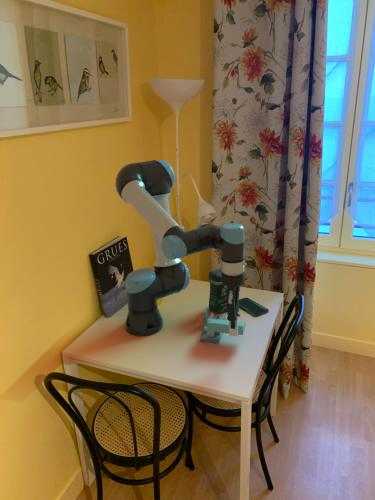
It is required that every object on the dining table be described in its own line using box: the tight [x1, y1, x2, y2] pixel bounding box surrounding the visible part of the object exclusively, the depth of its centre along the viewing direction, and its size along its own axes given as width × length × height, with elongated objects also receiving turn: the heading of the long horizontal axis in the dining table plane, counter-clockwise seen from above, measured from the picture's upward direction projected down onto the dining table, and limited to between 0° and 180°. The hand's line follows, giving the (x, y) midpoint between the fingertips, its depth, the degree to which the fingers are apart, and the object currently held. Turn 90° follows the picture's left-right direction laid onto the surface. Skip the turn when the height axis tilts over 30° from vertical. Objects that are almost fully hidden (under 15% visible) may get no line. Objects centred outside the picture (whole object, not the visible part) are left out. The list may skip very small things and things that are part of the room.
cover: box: [203, 317, 246, 336], centre depth 149 cm, size 14×7×4 cm, turn 74°
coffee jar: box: [208, 267, 228, 314], centre depth 171 cm, size 10×8×19 cm
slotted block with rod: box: [200, 306, 226, 345], centre depth 157 cm, size 8×16×7 cm, turn 164°
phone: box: [239, 297, 270, 318], centre depth 174 cm, size 8×1×15 cm
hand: (233, 334), depth 138 cm, fingers closed
